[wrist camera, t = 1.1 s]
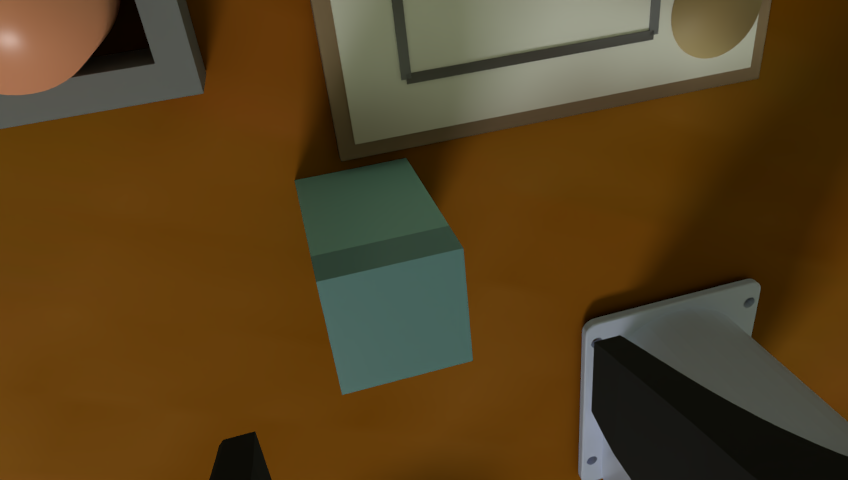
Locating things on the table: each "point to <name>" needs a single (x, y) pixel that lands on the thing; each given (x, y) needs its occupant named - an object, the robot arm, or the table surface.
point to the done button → (49, 40)
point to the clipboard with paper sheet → (518, 61)
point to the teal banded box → (385, 274)
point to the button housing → (123, 72)
